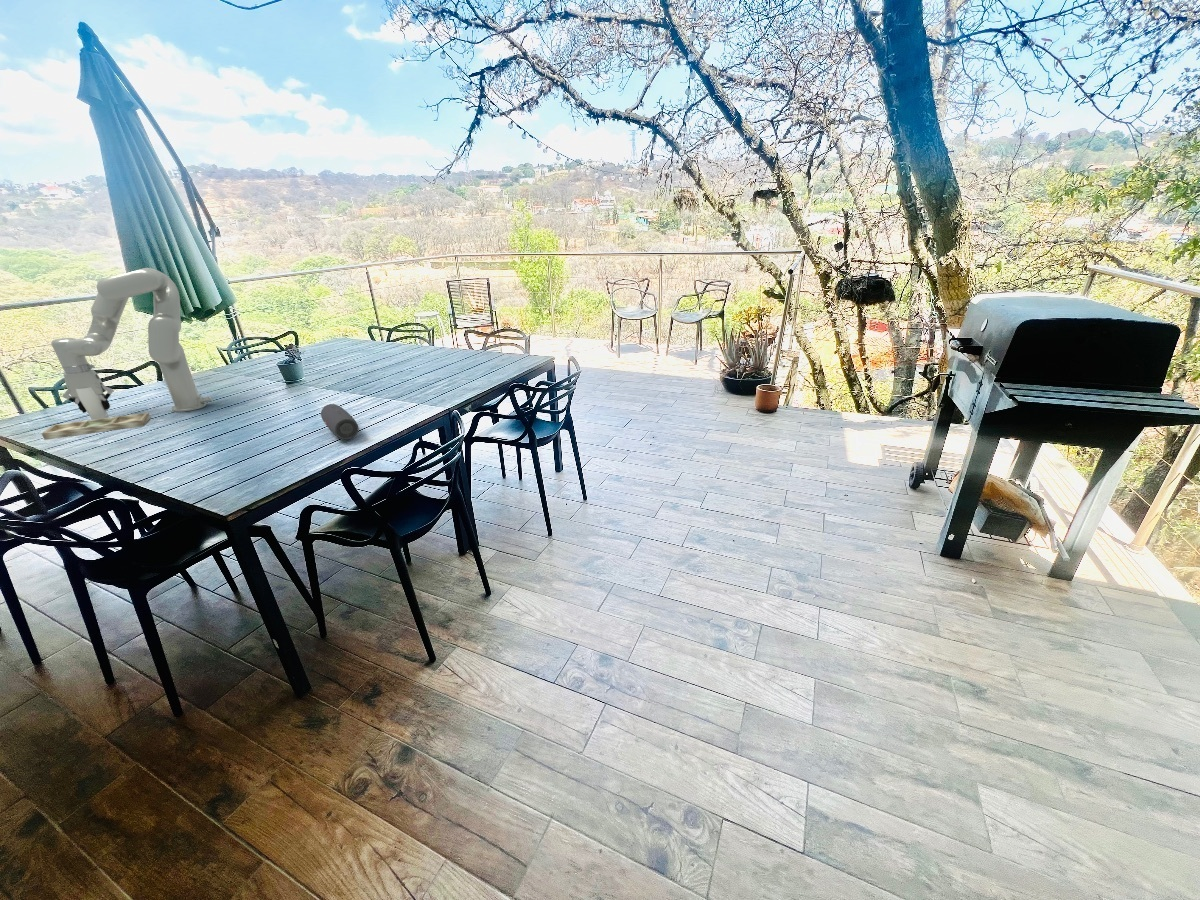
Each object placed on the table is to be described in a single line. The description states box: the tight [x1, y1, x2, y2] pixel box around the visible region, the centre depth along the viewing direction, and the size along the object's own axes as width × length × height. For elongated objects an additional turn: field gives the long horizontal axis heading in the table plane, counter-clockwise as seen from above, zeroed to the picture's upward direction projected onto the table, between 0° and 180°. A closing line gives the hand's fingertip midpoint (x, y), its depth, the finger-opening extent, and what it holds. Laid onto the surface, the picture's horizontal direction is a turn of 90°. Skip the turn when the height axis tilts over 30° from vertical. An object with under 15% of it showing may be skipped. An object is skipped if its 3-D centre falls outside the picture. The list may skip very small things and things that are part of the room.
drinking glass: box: [76, 387, 110, 420], centre depth 201 cm, size 7×7×15 cm
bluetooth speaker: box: [320, 403, 360, 440], centre depth 188 cm, size 23×9×10 cm, turn 40°
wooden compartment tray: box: [41, 412, 151, 440], centre depth 195 cm, size 30×11×2 cm, turn 119°
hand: (96, 410), depth 202 cm, fingers closed on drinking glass, 6 cm apart
